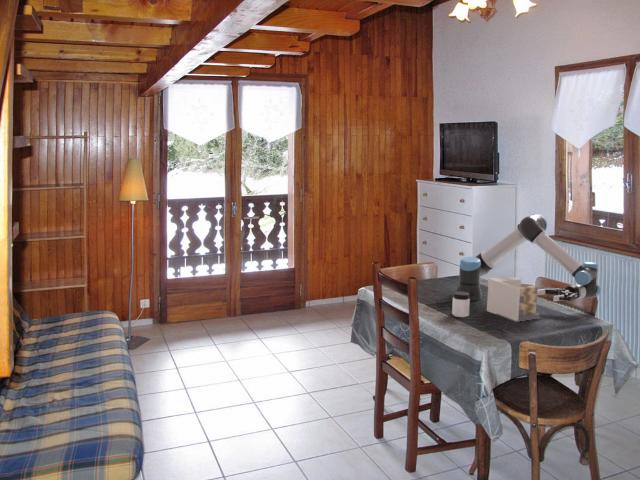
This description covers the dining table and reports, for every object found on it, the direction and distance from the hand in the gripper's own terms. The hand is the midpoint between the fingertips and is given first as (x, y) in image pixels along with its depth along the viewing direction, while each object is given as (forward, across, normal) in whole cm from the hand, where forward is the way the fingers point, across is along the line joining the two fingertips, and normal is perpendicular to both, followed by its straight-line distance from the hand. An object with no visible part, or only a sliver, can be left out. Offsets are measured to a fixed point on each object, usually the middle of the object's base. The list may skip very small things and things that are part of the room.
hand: (544, 295), depth 337 cm
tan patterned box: (+13, 0, -10) cm, 17 cm away
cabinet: (+14, +8, -11) cm, 19 cm away
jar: (+40, +18, -11) cm, 45 cm away
